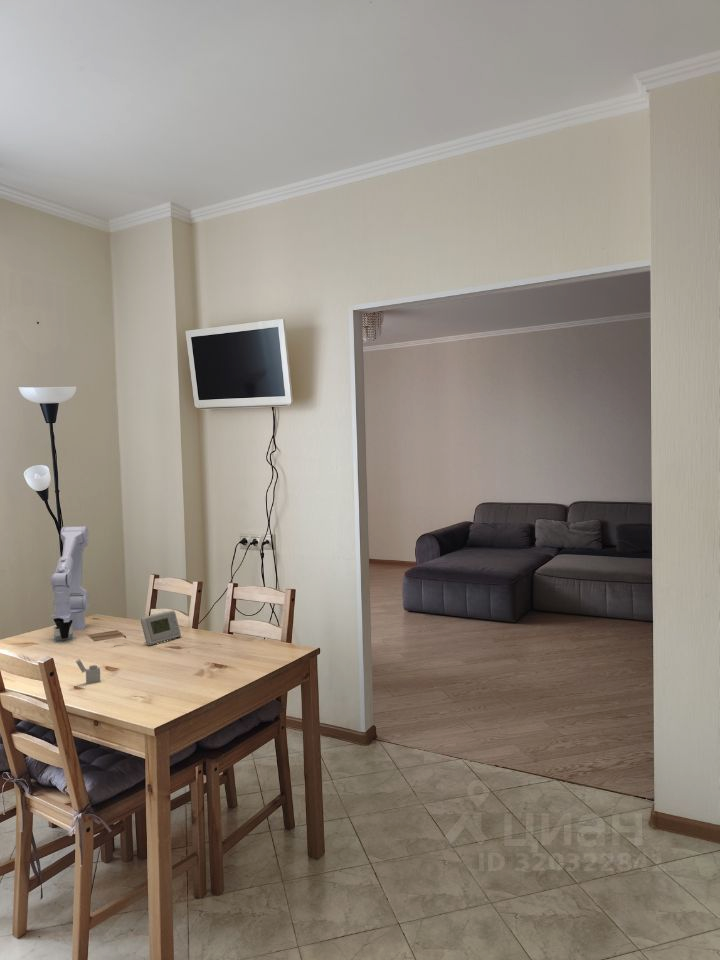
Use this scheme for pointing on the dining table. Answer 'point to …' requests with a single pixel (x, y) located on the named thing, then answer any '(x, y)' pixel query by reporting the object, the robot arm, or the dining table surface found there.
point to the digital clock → (160, 627)
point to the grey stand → (63, 641)
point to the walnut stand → (106, 635)
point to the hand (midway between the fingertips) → (63, 637)
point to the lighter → (90, 672)
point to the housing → (58, 636)
